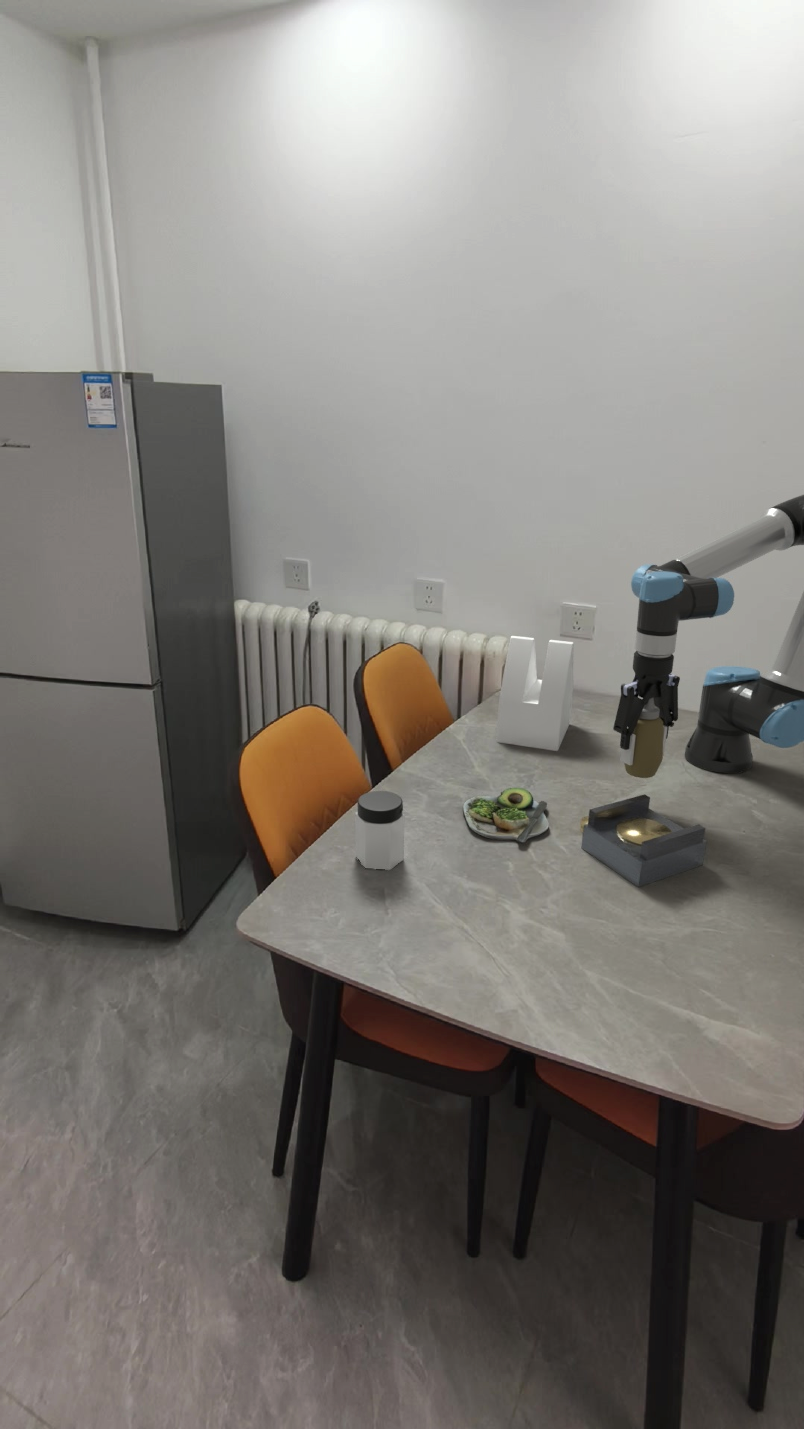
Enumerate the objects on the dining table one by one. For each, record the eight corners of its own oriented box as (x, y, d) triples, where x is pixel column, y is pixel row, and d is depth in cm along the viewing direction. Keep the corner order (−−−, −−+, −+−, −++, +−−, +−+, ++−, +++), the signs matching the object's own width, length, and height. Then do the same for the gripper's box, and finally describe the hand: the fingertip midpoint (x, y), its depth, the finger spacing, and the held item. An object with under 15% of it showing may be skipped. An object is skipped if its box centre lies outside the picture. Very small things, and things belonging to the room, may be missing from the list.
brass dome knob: (596, 821, 162) (597, 813, 161) (616, 835, 157) (618, 826, 156) (573, 828, 159) (574, 819, 158) (593, 842, 154) (594, 833, 153)
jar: (410, 865, 144) (411, 806, 140) (369, 875, 141) (369, 815, 136) (389, 842, 152) (390, 786, 147) (350, 851, 148) (349, 794, 144)
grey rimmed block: (643, 829, 158) (648, 793, 156) (702, 865, 146) (709, 826, 143) (581, 847, 151) (585, 810, 148) (638, 887, 139) (643, 847, 136)
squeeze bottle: (662, 782, 160) (673, 699, 154) (621, 779, 162) (630, 696, 155) (658, 766, 168) (668, 685, 161) (619, 763, 169) (627, 683, 163)
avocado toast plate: (563, 849, 151) (565, 828, 150) (470, 849, 150) (471, 828, 149) (542, 803, 169) (544, 783, 168) (459, 802, 169) (460, 783, 167)
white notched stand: (557, 751, 195) (566, 653, 186) (496, 742, 199) (502, 646, 191) (569, 724, 212) (578, 633, 203) (512, 716, 216) (518, 627, 207)
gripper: (677, 640, 163) (665, 741, 171) (600, 655, 154) (590, 762, 162) (707, 649, 157) (692, 754, 165) (627, 665, 147) (616, 776, 156)
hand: (642, 758), depth 163 cm, fingers closed on squeeze bottle, 8 cm apart
